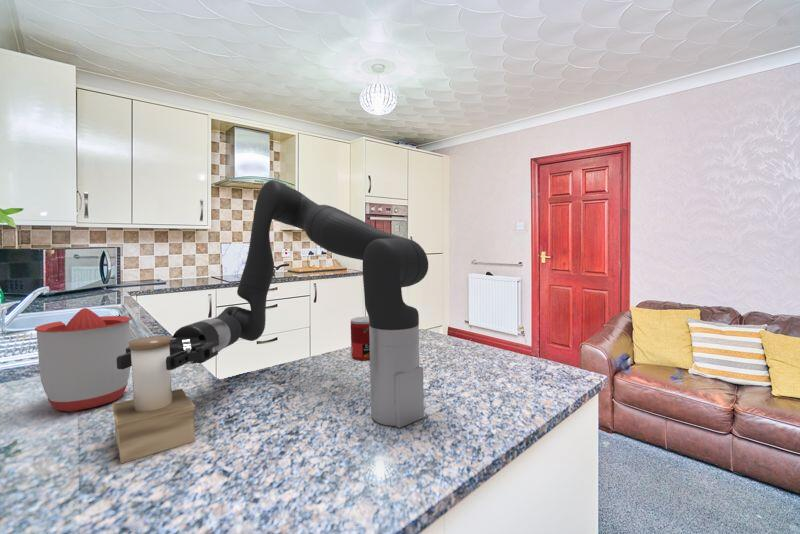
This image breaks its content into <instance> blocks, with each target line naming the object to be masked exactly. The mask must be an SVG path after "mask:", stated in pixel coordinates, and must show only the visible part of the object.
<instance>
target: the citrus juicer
mask: <svg viewBox="0 0 800 534" xmlns="http://www.w3.org/2000/svg"><path fill="white" fill-rule="evenodd" d="M130 321H131V317H129V316H123V315H107V316H106V315H103V316H99V315H98V314H97V313H95V312H94V311H93V310H91V309H89V308H86V307H84V308H81V309H80V310H78V312H77V313H75V315H74V316H73V317H72V318H71V319H70V320H69V321H68V322H67V324H66V323H64V322H62V321H54V322H48V323H45V324H41V325H38V326H36V327H35V328H34V331H35V332H36V339H37V354H38V357H37V358H38V369H39V376H40V382H41V385H42V388H43V392H44V393H45V395H46V397H47V400H48V402H49V404H50V406H51V407H52V408H53V409H54V410H55V411H59V412H60V411H61V412H62V411H63V412H70V413H74V412H79V411H80V410H86V409H92V408H95V407H99V406H102V405H106V404H109V403H111V402H115V401H118V400H119V398H121V397H122V396H123V395H124V394H125V392H126V389H127V387H128V381H129V377H130V373H131V369H132V366H131V367H128V368H126V369H117V357H118V356H121V355H123V354H126V348H128V347H129V342H130V341H131V332H130V331H131V330H130V328H131V327H130Z"/></svg>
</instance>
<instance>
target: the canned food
mask: <svg viewBox="0 0 800 534" xmlns="http://www.w3.org/2000/svg"><path fill="white" fill-rule="evenodd" d="M350 346H351V347H350V349H351V350H350V351H351V352H350V353H351V357H352V358H353V359H354V360H357V361H370V333H369V316H356V317H354V318H351V319H350Z"/></svg>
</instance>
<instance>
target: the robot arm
mask: <svg viewBox="0 0 800 534" xmlns="http://www.w3.org/2000/svg"><path fill="white" fill-rule="evenodd" d="M254 207H255V208H254V213H253V219H252V224H251V232H250V240H249V246H248V252H247V257H246V260H245V264H244V268H243V269H242V275H241V277H240V280H239V284H238V286H237V289H236V293H237V296H238V297H240V298H241V299H243V300H245V301H246V302H247V303H248V304H249V307H250V309H247V308H243V307H240V306H228V307H225V308H224V309H223V311H222V312H221V313H220V314H219V315H217V316H216V317H212V318H208V319H207V318H206V319H202V320H199V321H195V322H193V323H190V324H186V325H184V326H181V327H180V328H178V329H177V330H176V331H175V332H174V334H173V335H172V337H170V339H171V344H170V345H169V346H170V356H168V357H167V358H166V369H167V370H171V371H173V370H176V369H177V368H180V367H181V366H183V365H184V366H185V365H194V364H203V363H206V362H207V361H209V360H210V359H212V358H214V357H215V356H218V355H219V352H221V351H222V350H223V349H225V348H227V347H229V346H232V345H234V343H236V342H237V341H238V340H239V339H242V340H245V341H249V342H254V341H257V340H258V339H260V337H261V336H262V335H263V333H264V331H265V328H266V318H267V317H266V313H267V312H266V309H267V296H268V293H269V290H270V287H271V283H272V281H273V277H274V273H275V272H274V271H275V262H274V256H273V252H272V247H271V238H270V231H271V224H272V222H273V220H274V221H276V222H278V223H282V224H284V225H288V226H292V227H294V228H298V229H299V230H302V231H304V232H305V234H306V236H307V238H308V239H309V240H311V242H313V243H314V244H315V245H317V246H319V247H320V248H322V249H324V250H326V251H327V252H328V253H329V252H330V253H333V254H335V255H339V256H341V257H345V258H350V259H355V260H359V261H362V280H363V281H362V283H363V296H364V306H365V310H366V313H367V317H369V333H370V360H369V365H370V366H369V372H370V373H369V375H370V376H369V378H370V379H369V380H370V407H371V409H370V414H371V419H372V420H373V421H374V422H376V423H377V424H380V425H384V426H392V427H397V428H398V429H399V428H403V427H405V426H407V425H409V424H412V423H415V422H417V421H420V420H421V419H424V417H425V412H424V411H425V409H424V407H425V406H424V404H425V402H424V399H425V398H424V396H425V395H424V367H423V366H420V327H419V326H420V319H419V318H420V316H419V311H418V310H417V308H416V307H414V306H411V305H408V304H406V303H405V302H404V298H403V291H402V288H406V287H408V288H409V287H411V286H414V285H416V284H419V283H420V282H421V281H422V280H424V278H425V277H426V275H427V274H428V271H429V260H428V255H427V253H426V252H425V250H424V248H423V246H421V245H420V243H418V242H416V241H414V240H413V239H410V238H407V237H403V236H400V235H395V234H393V233H389V232H386V231H385V230H381V229H379V228H377V227H375V226H373V225H371V224H369V223H367V222H365V221H364V220H361V219H359V218H357V217H355V216H354V215H351V214H349V213H347V212H346V211H344V210H341V209H338V208H336V207H334V206H331V205H328V204H318V203H316V202H314V201H313V200H311V199H310V198H309V197H307V196H306V195H305V194H304V193H302V192H300V191H299V190H297V189H295V188H293V187H290V186H288V185H286V184H284V183H283V182H280V181H278V180H275V179H273V180H268V181H266V182H265V183H264V184H263V186H261V188H260V190H259V191H258V196H257V198H256V203H255V206H254ZM128 367H131V368H132V364H131V350H130V349H129V347H128V348H126V354H123V355H121V356H118V357H117V369H126V368H128Z"/></svg>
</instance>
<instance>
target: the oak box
mask: <svg viewBox="0 0 800 534" xmlns="http://www.w3.org/2000/svg"><path fill="white" fill-rule="evenodd" d="M111 409H112V412H113V417H114V428H115V429H114V432H115V442H116V447H117V451H118V455H119V461H120V464H124V463H128V462H131V461H133V460H137V459H141V458H144V457H147V456H150V455H153V454H157V453H161V452H164V451H167V450H170V449H174V448H177V447H180V446H183V445H186V444H189V443H193V442H196V439H195V437H196V436H195V435H196V434H195V418H194V417H195V416H194V410H196V406H195V404H194V403H193V401H192V400H191V399H190V398H189V396H188V395H187V393H186V392H185V391H184V390H183V388H178V389H175V390H172V403H171V404H169V405H168V406H166V407H163V408H160V409H157V410H152V411H144V412H140V411H136V410H134V398H132V399H130V400H125V401H121V402H120V401H119V402H115V403H112V407H111Z"/></svg>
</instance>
